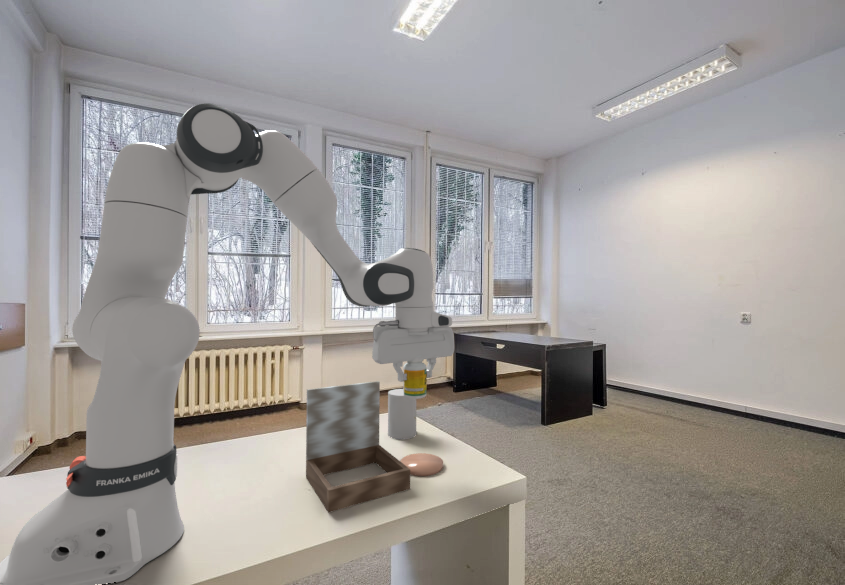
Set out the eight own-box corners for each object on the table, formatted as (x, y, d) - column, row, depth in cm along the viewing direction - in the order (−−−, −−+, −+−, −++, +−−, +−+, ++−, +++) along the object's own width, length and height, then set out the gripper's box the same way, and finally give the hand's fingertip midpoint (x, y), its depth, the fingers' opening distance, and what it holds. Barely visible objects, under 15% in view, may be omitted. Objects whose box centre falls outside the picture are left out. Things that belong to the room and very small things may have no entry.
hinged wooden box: (328, 512, 70) (329, 407, 70) (305, 477, 83) (306, 389, 84) (410, 489, 78) (410, 395, 79) (377, 460, 92) (378, 381, 92)
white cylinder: (421, 435, 109) (421, 393, 109) (397, 441, 104) (397, 397, 105) (406, 427, 116) (406, 387, 116) (382, 432, 111) (383, 391, 111)
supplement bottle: (401, 393, 91) (401, 353, 91) (423, 392, 92) (423, 352, 92) (405, 400, 85) (405, 357, 85) (429, 398, 87) (428, 356, 87)
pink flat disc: (413, 480, 82) (413, 475, 82) (392, 462, 91) (392, 458, 91) (451, 469, 87) (451, 465, 87) (428, 454, 96) (428, 450, 96)
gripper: (379, 322, 80) (379, 388, 81) (457, 318, 91) (458, 376, 91) (367, 320, 86) (367, 382, 86) (443, 316, 96) (443, 371, 96)
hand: (415, 379), depth 89 cm, fingers closed on supplement bottle, 5 cm apart
